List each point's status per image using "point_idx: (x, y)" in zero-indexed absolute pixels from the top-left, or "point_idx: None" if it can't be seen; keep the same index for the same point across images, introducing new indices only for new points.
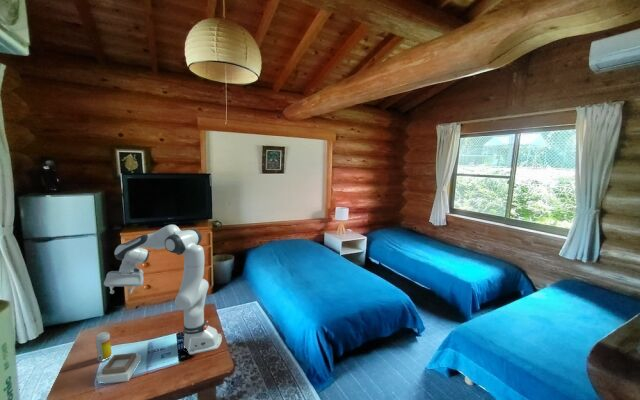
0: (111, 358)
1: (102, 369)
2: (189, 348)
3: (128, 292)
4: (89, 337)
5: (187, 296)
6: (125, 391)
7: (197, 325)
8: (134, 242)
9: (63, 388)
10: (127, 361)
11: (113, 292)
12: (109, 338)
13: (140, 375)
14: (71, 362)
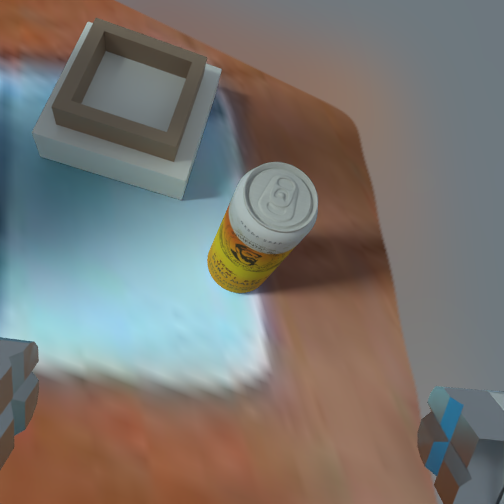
0: (183, 122)
1: (205, 60)
2: None
3: (26, 343)
4: None
5: None
6: (94, 3)
7: None
8: None
9: (338, 133)
10: (100, 109)
11: (436, 440)
12: (229, 207)
13: (38, 58)
14: (389, 302)
